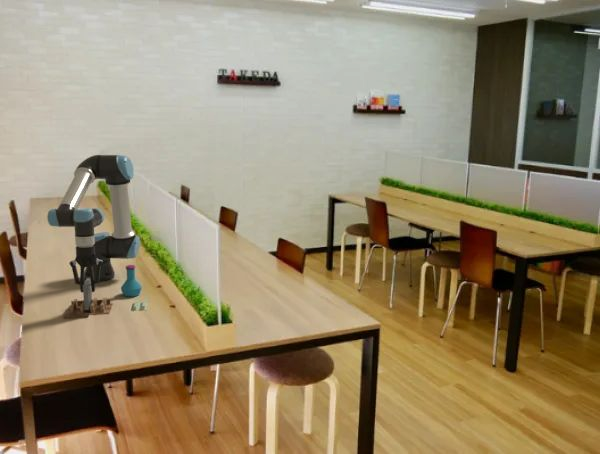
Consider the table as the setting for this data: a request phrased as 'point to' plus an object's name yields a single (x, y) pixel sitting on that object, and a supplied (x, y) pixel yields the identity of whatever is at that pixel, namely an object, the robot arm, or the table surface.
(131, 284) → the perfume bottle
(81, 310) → the rack
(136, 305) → the stand
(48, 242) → the table surface
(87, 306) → the thick grey slab
